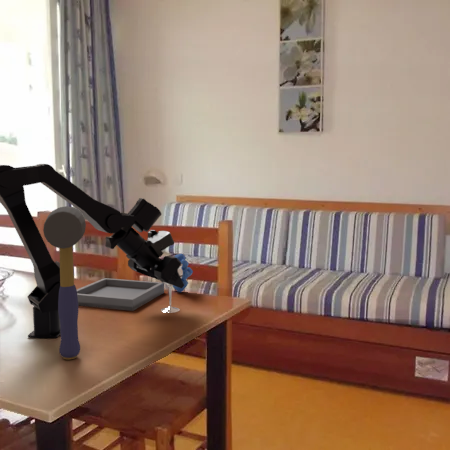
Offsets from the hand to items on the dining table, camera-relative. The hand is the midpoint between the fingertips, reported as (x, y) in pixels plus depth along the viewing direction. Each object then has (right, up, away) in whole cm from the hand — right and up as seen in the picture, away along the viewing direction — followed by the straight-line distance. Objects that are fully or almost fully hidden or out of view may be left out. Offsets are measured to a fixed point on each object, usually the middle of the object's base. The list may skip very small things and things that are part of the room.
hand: (173, 283), depth 134 cm
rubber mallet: (-17, -11, -33) cm, 39 cm away
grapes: (+1, -5, +19) cm, 20 cm away
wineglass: (-1, -7, 0) cm, 7 cm away
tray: (-17, -6, +12) cm, 21 cm away
